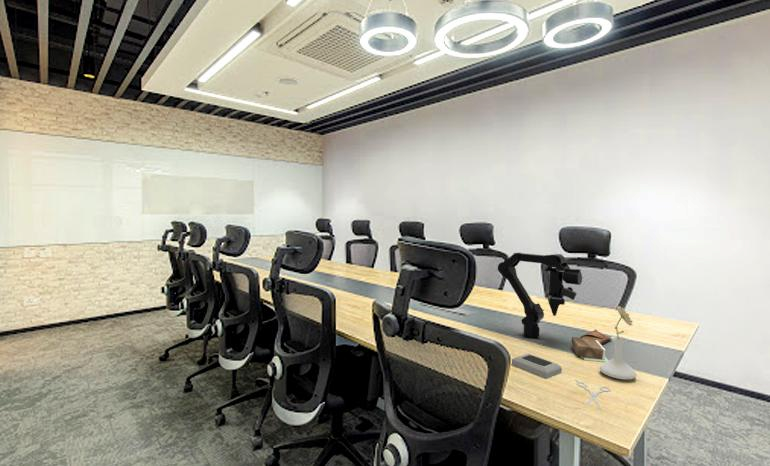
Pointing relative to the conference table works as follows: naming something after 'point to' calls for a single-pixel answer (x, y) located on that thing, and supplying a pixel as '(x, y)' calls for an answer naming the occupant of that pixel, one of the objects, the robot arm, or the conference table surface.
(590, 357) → the mat
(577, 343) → the walnut block
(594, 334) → the sunglasses case
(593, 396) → the scissors
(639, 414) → the conference table surface
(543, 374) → the grey flat block
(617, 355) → the flower in vase
